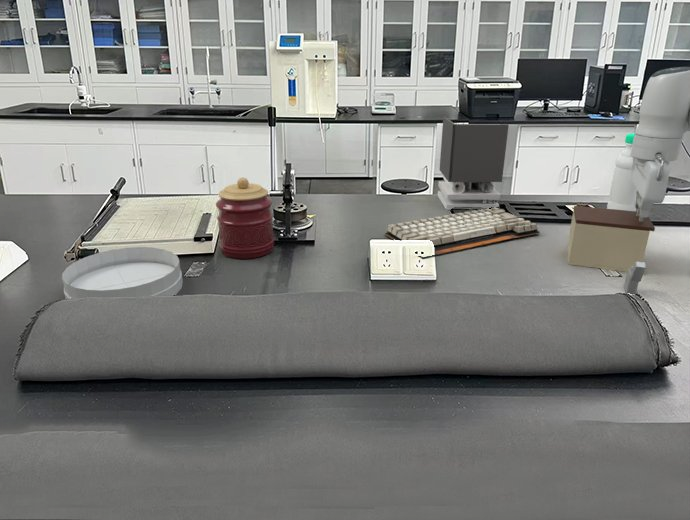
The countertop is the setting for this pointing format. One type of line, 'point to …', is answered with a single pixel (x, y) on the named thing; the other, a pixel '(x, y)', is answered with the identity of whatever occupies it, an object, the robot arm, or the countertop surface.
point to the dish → (124, 274)
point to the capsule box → (605, 246)
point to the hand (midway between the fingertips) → (640, 212)
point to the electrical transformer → (471, 164)
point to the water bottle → (623, 180)
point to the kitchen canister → (245, 220)
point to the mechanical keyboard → (464, 229)
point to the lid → (613, 218)
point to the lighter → (634, 277)
